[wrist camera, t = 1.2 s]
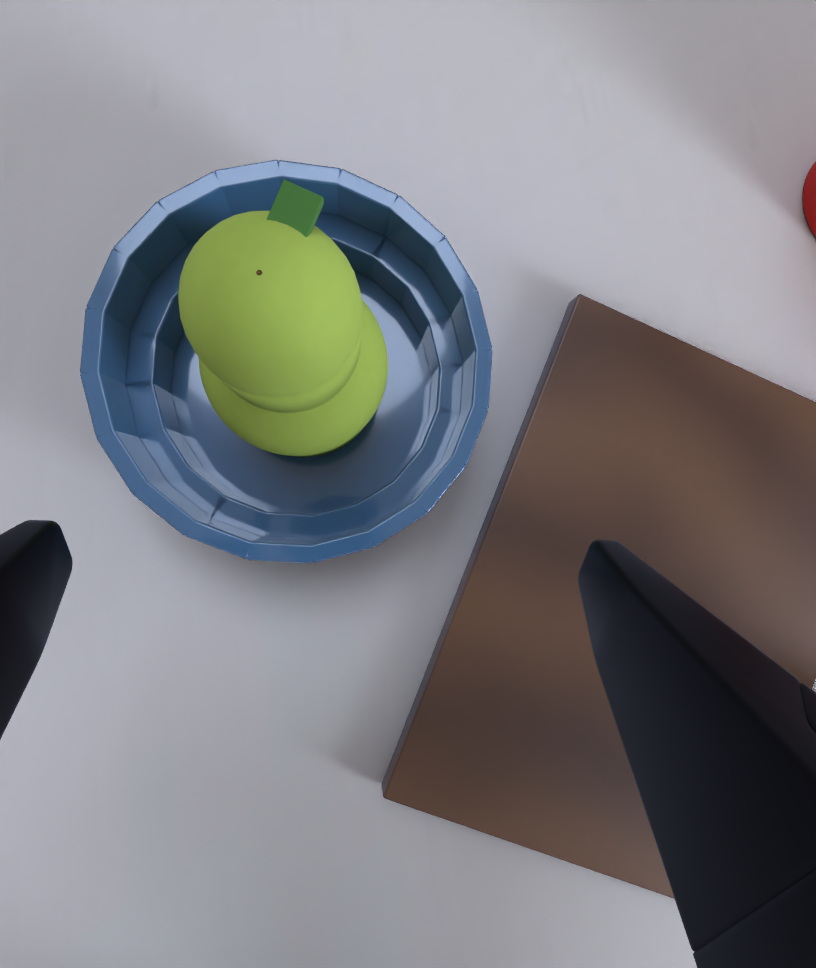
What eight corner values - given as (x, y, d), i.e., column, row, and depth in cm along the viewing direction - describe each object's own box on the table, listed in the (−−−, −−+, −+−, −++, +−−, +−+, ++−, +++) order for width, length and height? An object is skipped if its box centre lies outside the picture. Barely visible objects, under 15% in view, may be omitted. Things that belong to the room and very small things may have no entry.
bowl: (394, 595, 22) (405, 620, 18) (83, 475, 21) (11, 470, 16) (508, 308, 23) (546, 262, 18) (216, 176, 22) (181, 93, 17)
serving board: (717, 902, 23) (734, 920, 22) (381, 784, 22) (382, 798, 21) (876, 441, 25) (898, 439, 24) (569, 301, 23) (579, 292, 22)
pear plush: (347, 485, 21) (345, 476, 11) (200, 426, 21) (40, 352, 10) (404, 346, 22) (459, 199, 11) (262, 284, 21) (170, 64, 10)
